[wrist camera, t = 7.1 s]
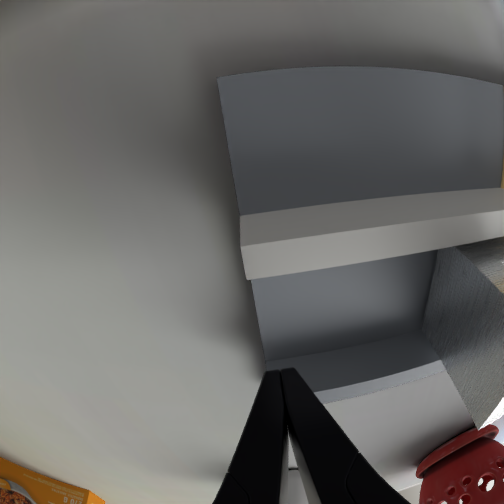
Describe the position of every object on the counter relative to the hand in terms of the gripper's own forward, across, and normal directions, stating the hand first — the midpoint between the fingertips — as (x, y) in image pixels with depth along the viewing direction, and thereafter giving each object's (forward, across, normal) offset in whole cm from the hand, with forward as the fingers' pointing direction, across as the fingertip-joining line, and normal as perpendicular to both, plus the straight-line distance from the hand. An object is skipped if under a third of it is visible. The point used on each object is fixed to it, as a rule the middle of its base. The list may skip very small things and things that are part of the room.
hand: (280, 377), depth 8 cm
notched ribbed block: (+3, -9, -2) cm, 9 cm away
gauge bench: (+4, -10, 0) cm, 11 cm away
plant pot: (+4, -20, +29) cm, 36 cm away
